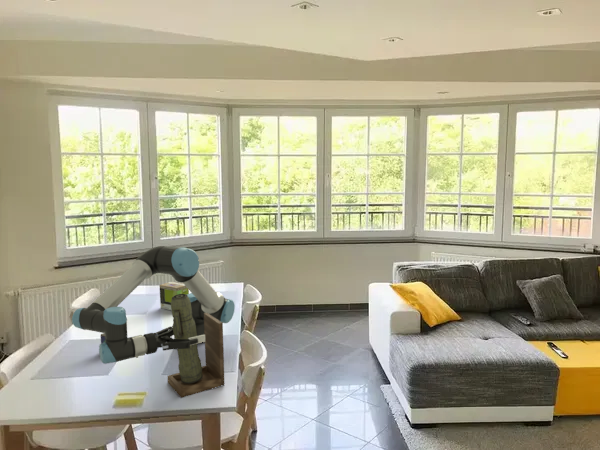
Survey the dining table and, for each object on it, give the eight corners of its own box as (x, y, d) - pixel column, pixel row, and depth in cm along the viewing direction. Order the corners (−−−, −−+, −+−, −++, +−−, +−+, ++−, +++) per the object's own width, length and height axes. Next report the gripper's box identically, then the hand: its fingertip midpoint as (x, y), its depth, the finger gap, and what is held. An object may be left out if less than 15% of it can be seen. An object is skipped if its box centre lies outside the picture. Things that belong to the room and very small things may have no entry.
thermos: (205, 369, 201) (194, 289, 193) (199, 384, 189) (187, 300, 182) (184, 371, 201) (172, 291, 194) (177, 386, 189) (163, 302, 182)
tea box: (190, 308, 291) (189, 284, 288) (177, 312, 282) (176, 288, 280) (172, 304, 298) (171, 280, 296) (159, 308, 290) (158, 284, 288)
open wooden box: (209, 371, 205) (207, 312, 202) (224, 385, 193) (222, 322, 189) (167, 382, 195) (164, 321, 192) (181, 398, 183) (178, 332, 179)
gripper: (135, 343, 191) (186, 332, 203) (155, 366, 170) (211, 352, 182) (134, 325, 190) (186, 315, 202) (154, 345, 169) (210, 333, 181)
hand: (198, 332), depth 192 cm, fingers open, 13 cm apart
